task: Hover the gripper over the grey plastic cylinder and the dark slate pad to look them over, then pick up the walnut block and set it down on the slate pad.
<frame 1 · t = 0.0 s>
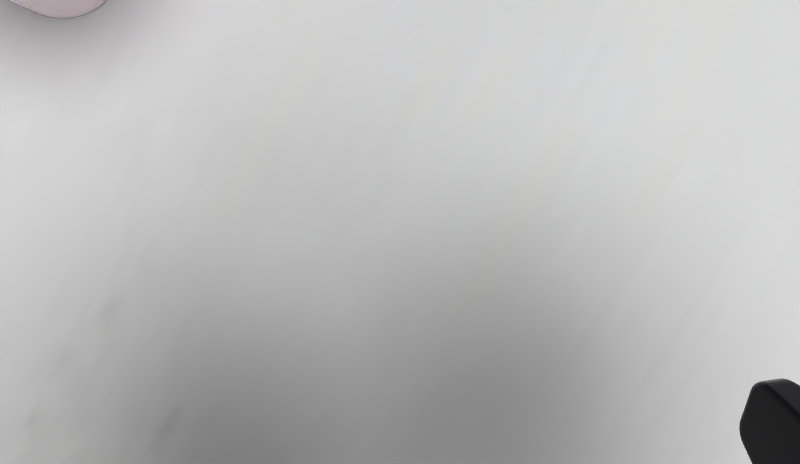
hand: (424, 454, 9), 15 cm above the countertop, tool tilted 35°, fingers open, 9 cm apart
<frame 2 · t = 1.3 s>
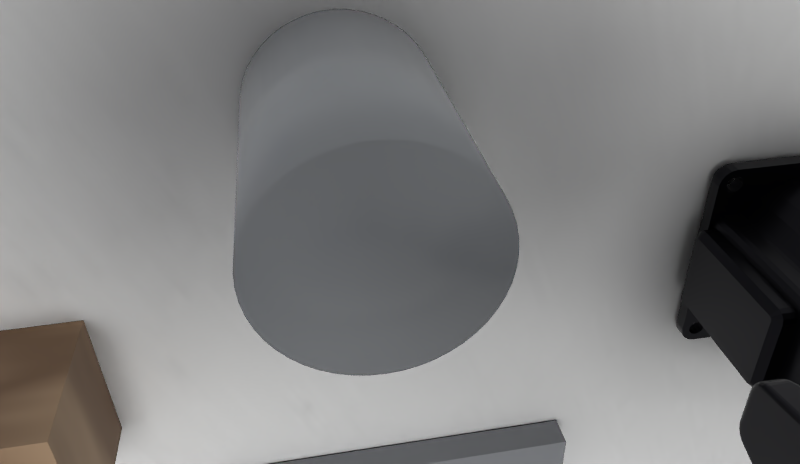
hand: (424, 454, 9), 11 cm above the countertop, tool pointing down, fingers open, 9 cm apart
walnut block: (26, 385, 22), on the countertop
grey cylinder: (340, 108, 18), on the countertop
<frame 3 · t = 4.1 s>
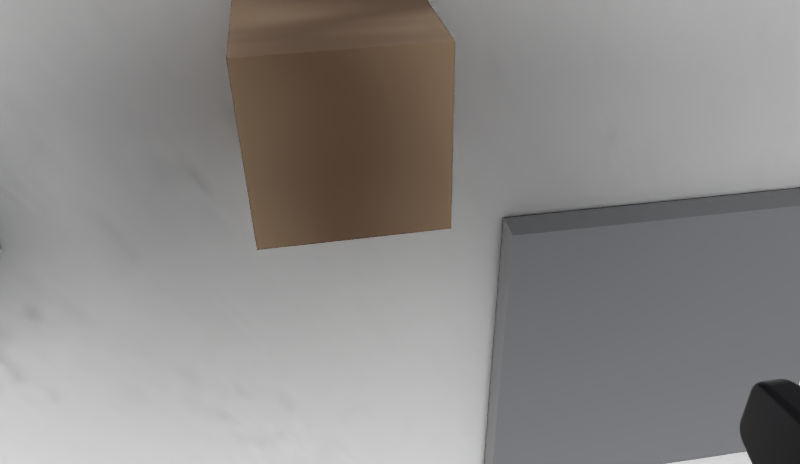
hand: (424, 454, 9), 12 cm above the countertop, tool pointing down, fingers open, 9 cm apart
walnut block: (331, 74, 19), on the countertop
slate pad: (650, 339, 26), on the countertop
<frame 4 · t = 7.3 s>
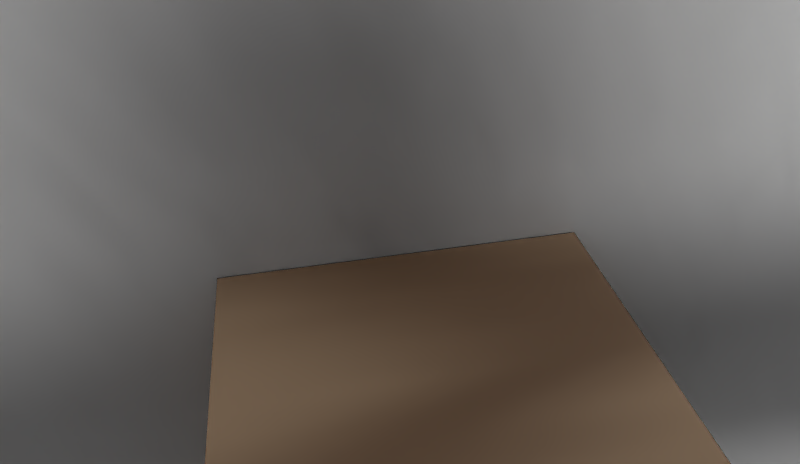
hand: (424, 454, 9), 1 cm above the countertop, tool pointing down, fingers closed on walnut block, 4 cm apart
walnut block: (406, 383, 10), on the countertop, touching gripper
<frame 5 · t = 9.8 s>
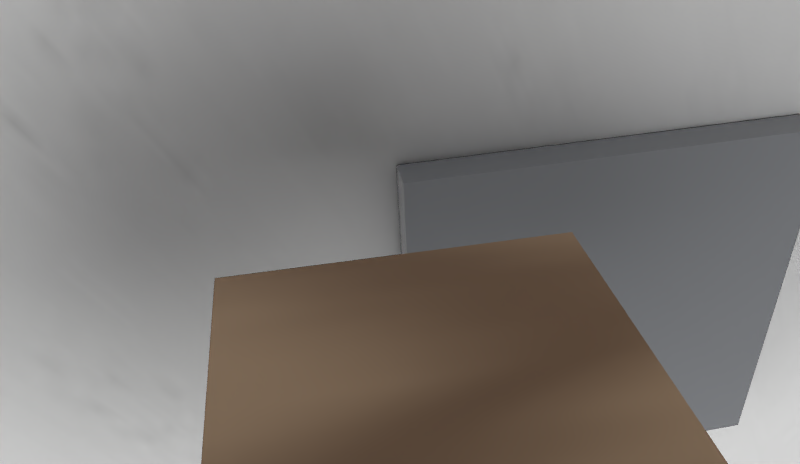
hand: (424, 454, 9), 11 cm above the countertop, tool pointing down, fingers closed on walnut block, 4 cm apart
walnut block: (404, 383, 10), point 10 cm above the countertop, touching gripper
slate pad: (588, 306, 23), on the countertop
when the fingers open (4 cm above the countertop, at t = 12.7 s): walnut block drops 1 cm, resting on slate pad.
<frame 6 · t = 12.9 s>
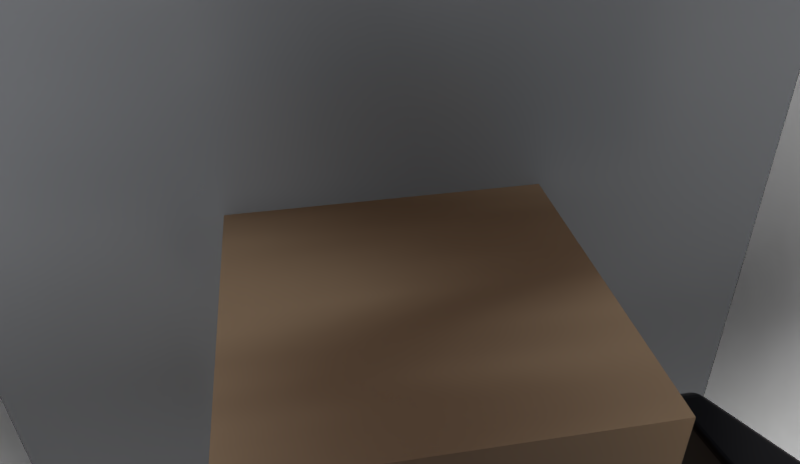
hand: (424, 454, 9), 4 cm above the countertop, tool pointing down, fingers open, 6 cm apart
walnut block: (389, 320, 11), point 1 cm above the countertop, touching slate pad
slate pad: (380, 281, 12), on the countertop
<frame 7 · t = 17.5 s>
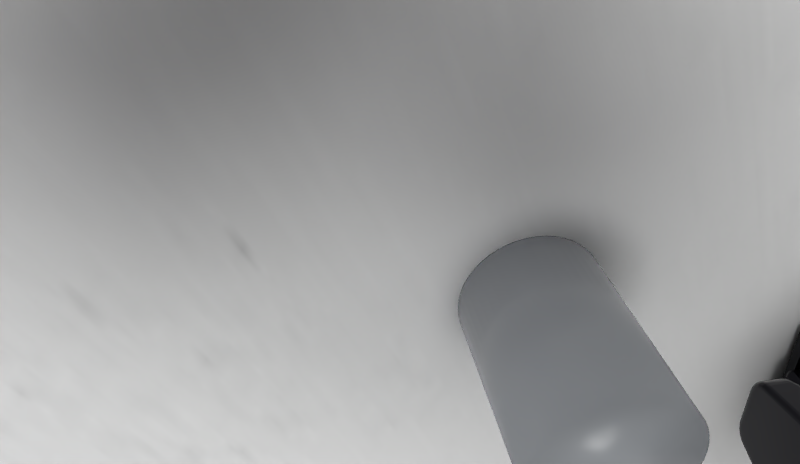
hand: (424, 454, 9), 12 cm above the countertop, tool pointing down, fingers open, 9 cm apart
grey cylinder: (530, 298, 24), on the countertop
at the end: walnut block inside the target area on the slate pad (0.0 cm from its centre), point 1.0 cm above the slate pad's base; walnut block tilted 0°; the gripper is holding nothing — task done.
